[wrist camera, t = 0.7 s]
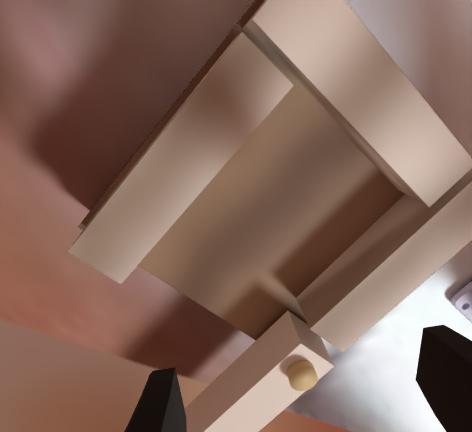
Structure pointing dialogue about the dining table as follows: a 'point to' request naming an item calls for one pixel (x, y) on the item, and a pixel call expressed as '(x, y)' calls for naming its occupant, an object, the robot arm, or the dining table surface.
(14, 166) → the dining table surface
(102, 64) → the dining table surface
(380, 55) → the stool seat
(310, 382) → the hinged leg
